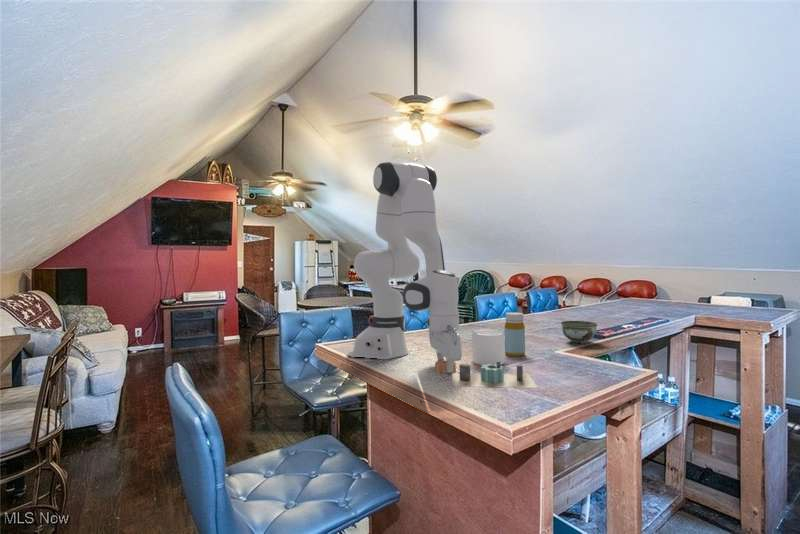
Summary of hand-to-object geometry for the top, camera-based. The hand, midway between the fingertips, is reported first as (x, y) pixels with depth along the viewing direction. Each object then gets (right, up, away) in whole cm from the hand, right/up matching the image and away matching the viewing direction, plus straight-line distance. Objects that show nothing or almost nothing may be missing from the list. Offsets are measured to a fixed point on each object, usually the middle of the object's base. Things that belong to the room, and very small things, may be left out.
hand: (445, 368), depth 119 cm
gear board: (+12, -2, -10) cm, 16 cm away
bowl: (+59, 0, +39) cm, 71 cm away
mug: (+15, -1, +10) cm, 19 cm away
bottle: (+28, -1, +22) cm, 36 cm away
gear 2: (+12, -1, -10) cm, 16 cm away
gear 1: (0, -2, 0) cm, 2 cm away
